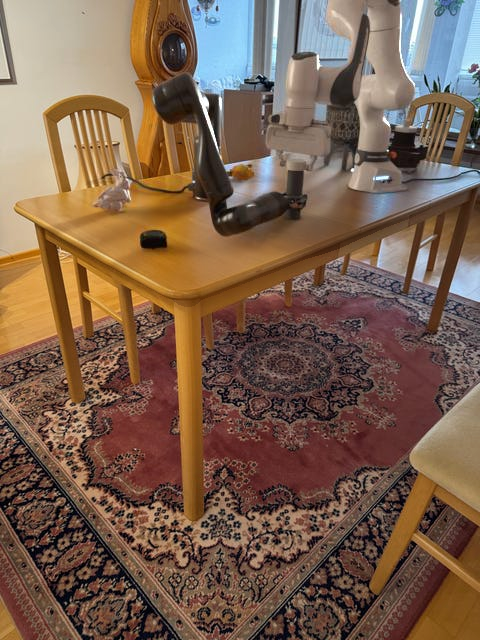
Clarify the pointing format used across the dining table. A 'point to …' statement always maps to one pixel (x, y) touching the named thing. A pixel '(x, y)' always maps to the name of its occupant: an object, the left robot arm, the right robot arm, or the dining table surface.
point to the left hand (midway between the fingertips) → (298, 195)
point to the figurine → (115, 193)
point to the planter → (343, 132)
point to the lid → (296, 164)
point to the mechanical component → (407, 148)
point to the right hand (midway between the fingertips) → (295, 168)
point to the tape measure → (153, 239)
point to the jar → (294, 191)
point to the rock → (340, 150)
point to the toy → (242, 172)
